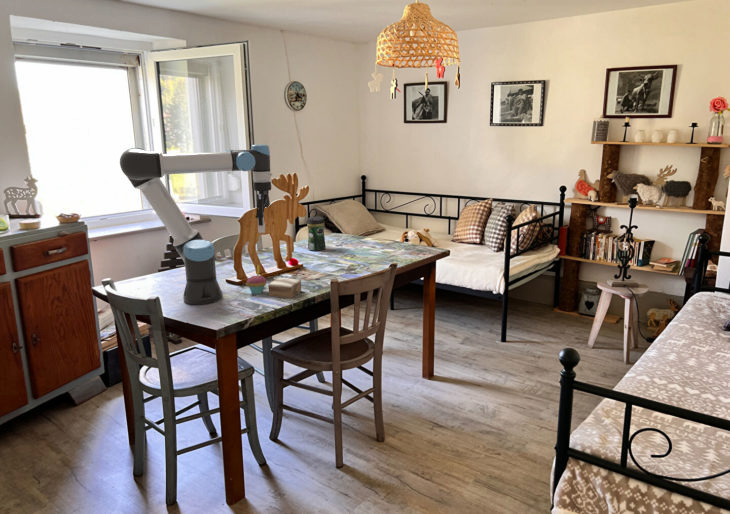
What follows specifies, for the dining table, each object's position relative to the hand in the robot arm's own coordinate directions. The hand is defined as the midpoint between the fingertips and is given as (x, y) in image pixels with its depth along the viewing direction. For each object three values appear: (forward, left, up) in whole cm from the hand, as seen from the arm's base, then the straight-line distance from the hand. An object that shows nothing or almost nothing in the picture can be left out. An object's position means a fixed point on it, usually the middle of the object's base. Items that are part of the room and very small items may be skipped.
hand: (264, 229), depth 239 cm
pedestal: (-14, -15, -24) cm, 31 cm away
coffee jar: (+64, +3, -24) cm, 69 cm away
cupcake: (-16, -3, -24) cm, 29 cm away
